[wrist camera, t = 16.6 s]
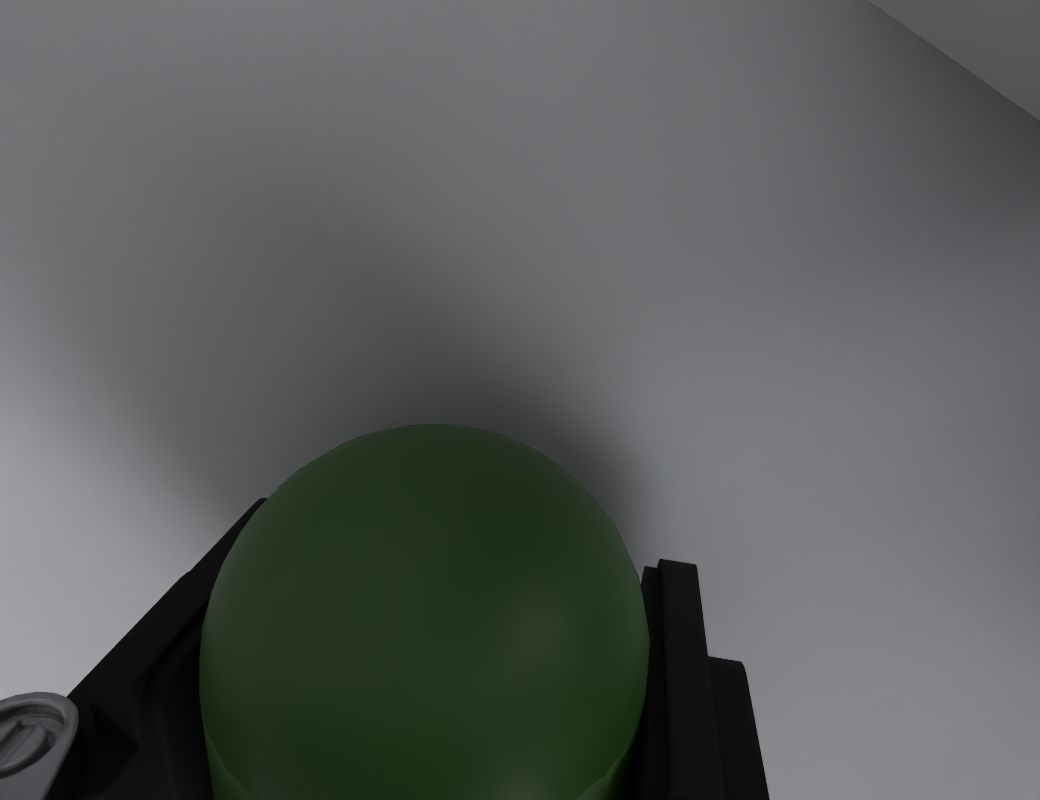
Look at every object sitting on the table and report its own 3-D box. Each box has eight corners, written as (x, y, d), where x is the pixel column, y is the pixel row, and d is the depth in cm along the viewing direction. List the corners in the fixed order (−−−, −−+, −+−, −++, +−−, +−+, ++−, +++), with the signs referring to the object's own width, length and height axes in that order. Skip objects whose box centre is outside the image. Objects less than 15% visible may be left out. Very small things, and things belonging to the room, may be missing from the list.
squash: (310, 342, 10) (25, 554, 5) (673, 388, 10) (708, 671, 5) (331, 768, 14) (169, 1121, 9) (597, 820, 13) (573, 1227, 8)
